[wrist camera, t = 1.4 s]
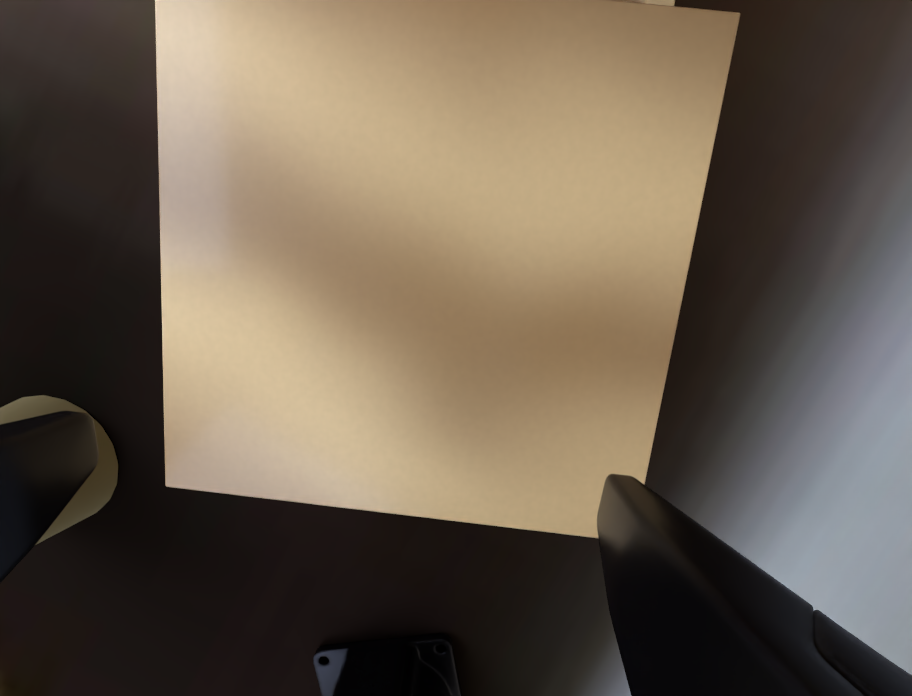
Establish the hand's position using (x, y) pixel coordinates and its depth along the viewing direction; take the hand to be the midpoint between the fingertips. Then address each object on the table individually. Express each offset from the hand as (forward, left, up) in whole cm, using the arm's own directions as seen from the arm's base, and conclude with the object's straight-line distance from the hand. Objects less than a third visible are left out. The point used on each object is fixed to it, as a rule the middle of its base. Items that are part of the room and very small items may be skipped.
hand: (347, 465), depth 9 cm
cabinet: (+3, -1, -12) cm, 12 cm away
